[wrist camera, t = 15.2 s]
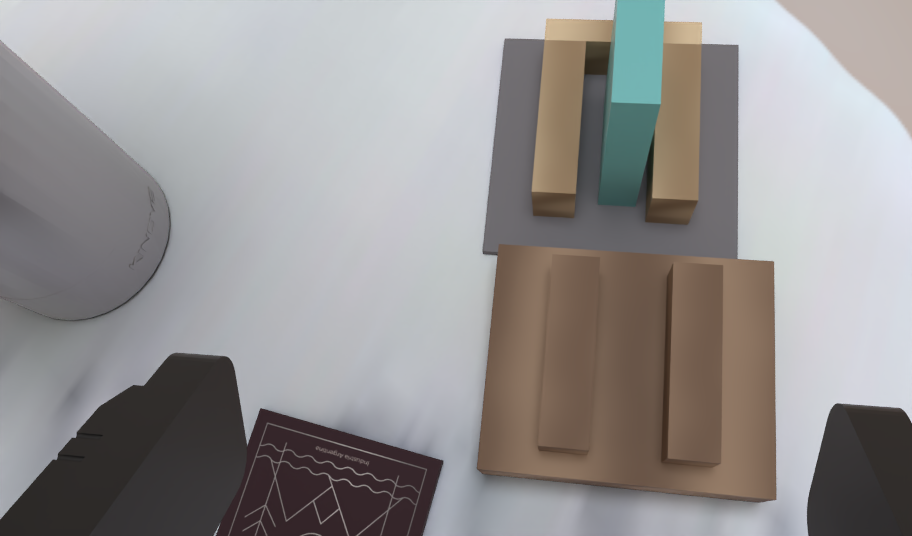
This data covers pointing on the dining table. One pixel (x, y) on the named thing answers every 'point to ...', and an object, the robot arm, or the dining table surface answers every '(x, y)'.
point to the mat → (595, 223)
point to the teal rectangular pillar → (630, 99)
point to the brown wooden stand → (632, 372)
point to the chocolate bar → (328, 484)
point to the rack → (560, 106)
